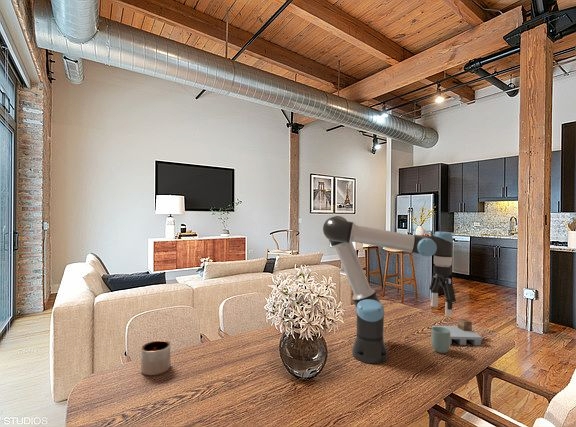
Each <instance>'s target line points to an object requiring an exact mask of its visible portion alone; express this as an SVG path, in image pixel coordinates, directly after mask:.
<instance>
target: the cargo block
mask: <svg viewBox="0 0 576 427" xmlns="http://www.w3.org/2000/svg"><path fill="white" fill-rule="evenodd" d="M457 326H458V328H459V329H461V330H463V331H473V322H472V320H469V319H468V318H458V319H457Z"/></svg>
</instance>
